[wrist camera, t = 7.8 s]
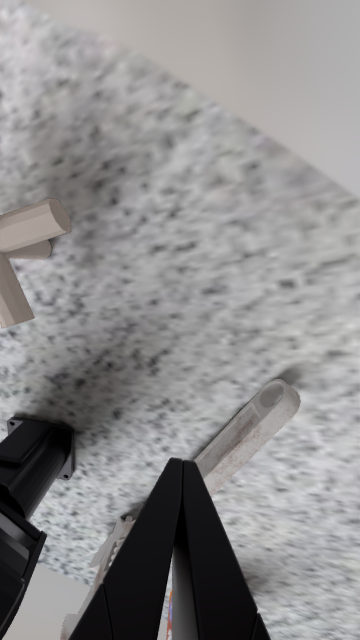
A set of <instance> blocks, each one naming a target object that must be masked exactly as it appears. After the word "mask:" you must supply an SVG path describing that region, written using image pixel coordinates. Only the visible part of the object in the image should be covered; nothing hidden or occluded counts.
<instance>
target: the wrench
mask: <svg viewBox="0 0 360 640" xmlns="http://www.w3.org/2000/svg"><path fill="white" fill-rule="evenodd" d="M282 394H283V396H282V398H281V399H280V401H279V402H278V403H277V404H275V405H273V404H274V402H275V401H276V399H277V398H278V397H279V396H281V395H282ZM299 406H300V396H299V394H298V393H297V392H296V391H295V390H294V389H293V388H292V387H290V386H289V385H288V384H287V383H286V382H285V381H283V380H281V379H274V380H272V381H271V382H269V383H268V384H267V385H266V386H265V387H264V388H263V389H262V390H261V391H259V392H258V393H257V394H256V395H255V396H254V397H253V398H252V399H251V400H250V402H249V403H248V404H247V405H246V406H245V407H244V408H243V409H242V410H241V411H240V412H239V413H238V414H237V415H236V417H235V418H234V419H233V420H232V421H231V422H230V423H229V424H228V425H227V426H226V427H225V428H224V429H223V430H222V431H221V432H220V433H219V435H218V436H217V437H216V438H215V439H214V440H213V441H212V442H211V443H210V444H209V445H208V446H207V447H206V448H205V449H204V450H203V451H202V452H201V453H200V454H199V455H198V456H197V458H196V459H195V460H194V461H195V462H196V463H197V465H198V468H199V470H200V473H201V475H202V477H203V480H204V482H205V484H206V487H207V489H208V492H209V494H210V496H212V495H213V494H214V493H215V492H216V491H217V490H219V489H220V488H221V487H222V486H223V485H224V484H225V483H226V482H227V481H228V480H229V479H230V478H231V477H232V476H233V475H234V474H235V473H236V472H237V471H238V470H239V469H240V468H241V467H242V466H243V465H244V464H245V463H246V462H247V461H248V460H249V459H250V458H251V457H252V456H253V455H254V454H255V453H256V452H257V451H258V450H259V449H260V448H261V447H262V446H263V445H264V444H265V443H266V442H267V441H268V440H269V439H270V438H271V437H273V436H274V435H275V434H276V433H277V432H278V431H279V430H280V429H281V428H282V427H283V426H284V425H285V424H286V423H287V422H288V421H289V420H290V419H291V418H292V417H293V416H294V415H295V413H296V412H297V410H298V408H299ZM134 522H135V520H134V521H132V516H131V515H128V516H127V517H126V519H125V520H123V519H122V518H120V517H119V518H118V520H117V523H116V525H115V528H114V531H113V533H112V534H111V535H110V536H109V537H108V538H107V539H106V541H105V542H104V544H103V545H102V546H101V548H100V549H99V550H98V552H97V554H96V555H95V557H94V558H93V560H92V561H91V564H90V566H89V568H90V569H92V570H93V571H95V572H97V575H96V578H95V580H94V583H93V586H92V588H91V590H90V592H89V593H88V595H87V597H86V599H85V601H84V603H83V604H82V606H81V608H80V610H79V612H78V614H66V617H65V620H64V622H63V625H62V630H61V640H68V639H69V637H70V635H71V634H72V632H73V630H74V629H75V627H76V625H77V623H78V622H79V620H80V618H81V617H82V615H83V613H84V611H85V610H86V608H87V606H88V605H89V603H90V601H91V599H92V597H93V596H94V594H95V592H96V590H97V588H98V587H99V585H100V584H101V583H102V582H103V578H104V576H105V574H106V573H107V571H108V569H109V567H110V565H111V564H112V562H113V560H114V558H115V556H116V555H117V553H118V551H119V549H120V547H121V546H122V544H123V542H124V540H125V538H126V537H127V535H128V533H129V531H130V529H131V528H132V526H133V524H134Z"/></svg>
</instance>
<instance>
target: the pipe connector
mask: <svg viewBox="0 0 360 640" xmlns="http://www.w3.org/2000/svg"><path fill="white" fill-rule="evenodd" d="M71 228H72V226H71V222H70V218H69V216H68V214H67V212H66V210H65V209H64V207H63V206H62V205H61V203H60V202H58V201H57V200H56V199H55V198H50V199H47V200H44V201H41V202H38V203H35V204H32V205H29V206H26V207H24V208H21V209H18V210H15V211H12V212H9V213H6V214H3V215H0V325H1V327H2V328H5V327H9V326H12V325H15V324H19V323H22V322H25V321H28V320H31V319H34V318H35V317H34V315H33V312H32V310H31V308H30V306H29V303H28V301H27V299H26V297H25V295H24V292H23V290H22V288H21V286H20V283H19V281H18V279H17V277H16V275H15V272H14V270H13V268H12V266H11V264H10V261H9V259H46V258H48V257H49V256H50V254H51V251H52V248H51V244H50V242H49V241H48V240H47V239H49V238H53V237H56V236H59V235H62V234H65V233H68V232H71Z"/></svg>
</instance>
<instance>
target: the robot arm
mask: <svg viewBox="0 0 360 640" xmlns="http://www.w3.org/2000/svg"><path fill="white" fill-rule="evenodd" d="M7 427H8V436H7V437H6V438H5V439H4V440H3V441H2V442H0V640H2V638H3V636H4V635H5V634H6V632H7V630H8V628H9V627H10V625H11V623H12V621H13V619H14V617H15V616H16V614H17V612H18V609H19V607H20V605H21V602H22V600H23V598H24V595H25V592H26V590H27V587H28V584H29V582H30V579H31V577H32V574H33V571H34V569H35V566H36V564H37V561H38V558H39V556H40V553H41V551H42V548H43V545H44V543H45V540H46V538H47V534H46V533H45V532H43V531H40V530H38V529H37V528H36V527H35V526H34V525H32V524H31V523H30V522H29V519H30V518H31V516H32V515H33V513H34V511H35V510H36V508H37V507H38V505H39V504H40V502H41V501H42V499H43V497H44V496H45V494H46V493H47V491H48V490H49V488H50V487H51V485H52V483H53V482H54V480H55V479H56V478H57V479H63V480H69V479H70V478H71V476H72V474H73V447H74V429H73V428H72V427H70V426H65V425H60V424H54V423H48V422H43V421H37V420H31V419H26V418H20V417H11V418H10V419H9V420H8V421H7ZM67 431H68V432H67ZM172 553H173V555H172ZM171 559H172V640H271V638H270V636H269V634H268V631H267V629H266V626H265V624H264V622H263V619H262V617H261V615H260V613H257V611H258V608H257V606H256V603H255V601H254V598H253V596H252V594H251V591H250V589H249V587H248V584H247V582H246V579H245V577H244V575H243V572H242V570H241V568H240V565H239V563H238V560H237V558H236V556H235V553H234V551H233V549H232V546H231V544H230V541H229V539H228V537H227V534H226V532H225V530H224V527H223V525H222V522H221V520H220V518H219V515H218V513H217V511H216V508H215V506H214V503H213V501H212V499H211V496H210V494H209V492H208V489H207V487H206V484H205V482H204V480H203V477H202V475H201V473H200V470H199V468H198V465H197V463H196V462H195V461H191V460H184V461H183V460H182V459H179V458H174V457H171V458H170V459H169V461H168V463H167V465H166V466H165V468H164V470H163V472H162V474H161V475H160V477H159V479H158V481H157V483H156V484H155V486H154V488H153V490H152V492H151V493H150V495H149V497H148V499H147V501H146V502H145V504H144V506H143V508H142V510H141V511H140V513H139V515H138V517H137V519H136V520H135V522H134V524H133V526H132V528H131V529H130V531H129V533H128V535H127V537H126V538H125V540H124V542H123V544H122V546H121V547H120V549H119V551H118V553H117V555H116V556H115V558H114V560H113V562H112V564H111V565H110V567H109V569H108V571H107V573H106V574H105V576H104V578H103V582H102V583H101V584H100V585H99V587H98V588H97V590H96V592H95V594H94V596H93V597H92V599H91V601H90V603H89V605H88V606H87V608H86V610H85V611H84V613H83V615H82V617H81V618H80V620H79V622H78V623H77V625H76V627H75V629H74V630H73V632H72V634H71V635H70V637H69V639H68V640H157V637H158V631H159V626H160V620H161V615H162V609H163V603H164V598H165V592H166V587H167V581H168V576H169V570H170V564H171Z"/></svg>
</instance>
